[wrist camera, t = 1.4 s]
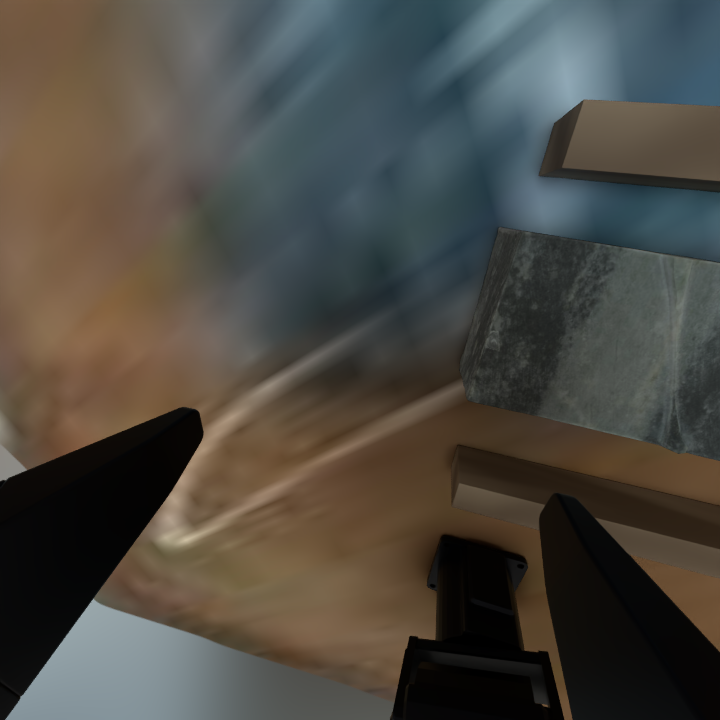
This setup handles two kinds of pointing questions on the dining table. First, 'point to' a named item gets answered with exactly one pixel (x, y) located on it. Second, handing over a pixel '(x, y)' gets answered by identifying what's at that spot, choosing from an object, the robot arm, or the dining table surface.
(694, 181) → the chute
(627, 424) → the stone block
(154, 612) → the dining table surface
